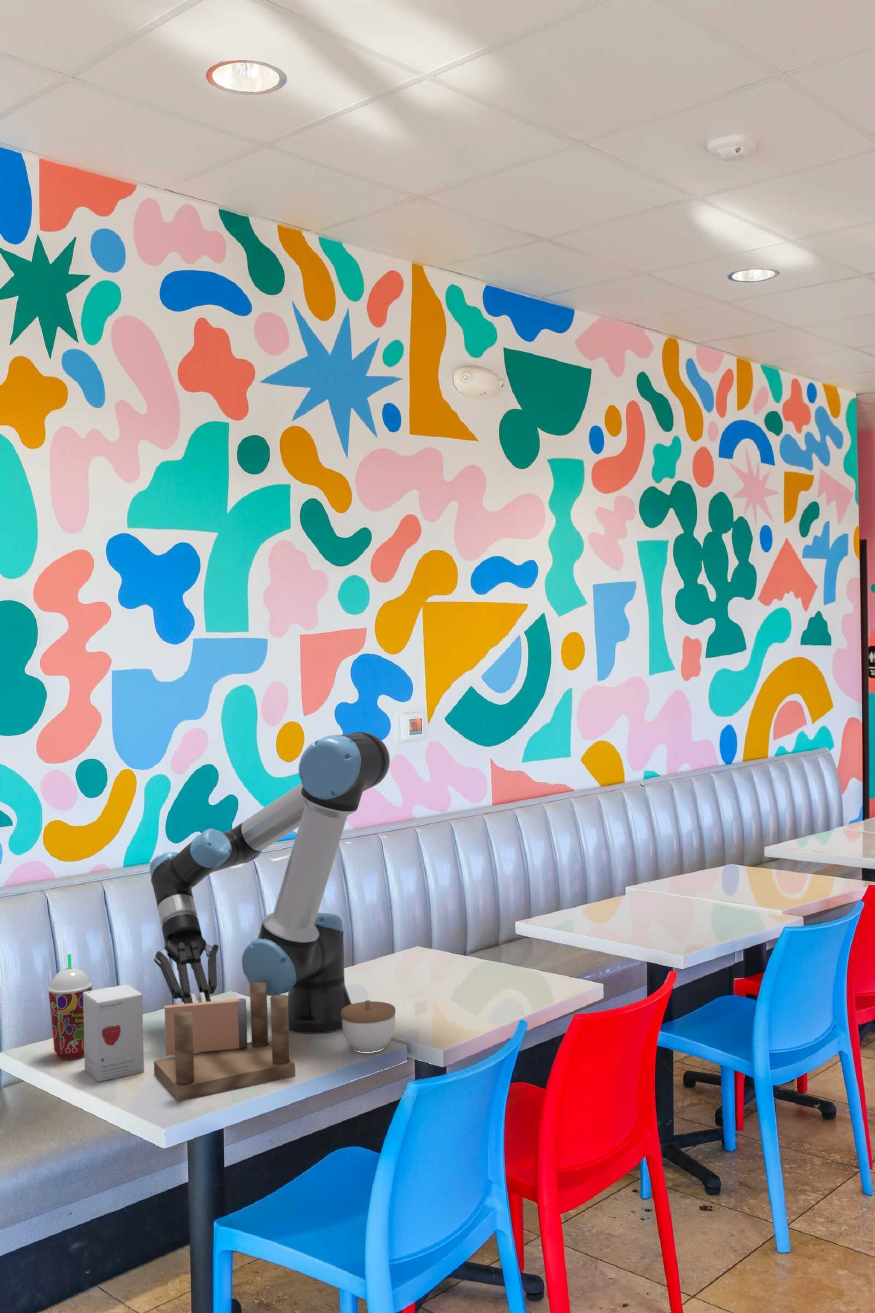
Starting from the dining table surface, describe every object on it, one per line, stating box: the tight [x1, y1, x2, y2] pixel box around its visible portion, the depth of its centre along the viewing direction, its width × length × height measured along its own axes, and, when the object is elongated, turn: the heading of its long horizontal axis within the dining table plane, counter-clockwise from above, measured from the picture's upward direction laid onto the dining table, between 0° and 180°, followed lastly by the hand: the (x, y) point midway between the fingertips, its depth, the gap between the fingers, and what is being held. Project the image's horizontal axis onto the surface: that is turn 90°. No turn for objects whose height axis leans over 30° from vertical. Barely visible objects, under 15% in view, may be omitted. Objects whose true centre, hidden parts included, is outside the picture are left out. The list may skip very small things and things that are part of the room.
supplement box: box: [83, 984, 145, 1083], centre depth 221 cm, size 9×9×15 cm
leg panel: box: [164, 998, 248, 1056], centre depth 224 cm, size 15×2×9 cm, turn 101°
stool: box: [153, 981, 296, 1102], centre depth 217 cm, size 22×16×14 cm
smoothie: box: [47, 953, 93, 1060], centre depth 231 cm, size 8×8×20 cm
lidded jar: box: [341, 999, 396, 1052], centre depth 230 cm, size 11×11×9 cm
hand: (202, 1026), depth 226 cm, fingers closed
